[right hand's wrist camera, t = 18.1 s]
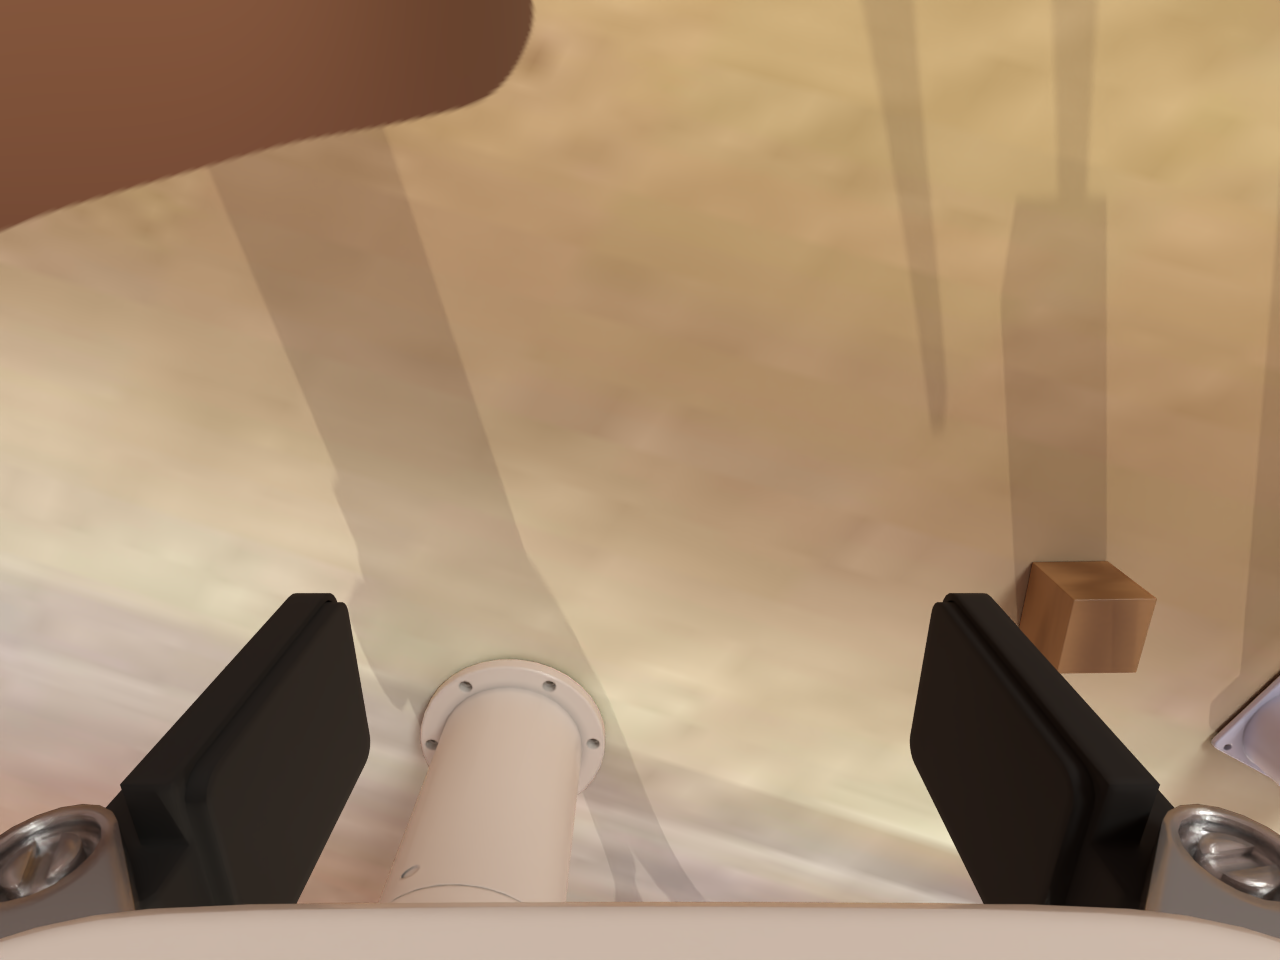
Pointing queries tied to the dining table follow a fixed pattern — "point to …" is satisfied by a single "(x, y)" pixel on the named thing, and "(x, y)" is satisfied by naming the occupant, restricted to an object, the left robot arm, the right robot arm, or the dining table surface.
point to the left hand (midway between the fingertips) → (1082, 915)
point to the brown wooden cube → (1086, 616)
